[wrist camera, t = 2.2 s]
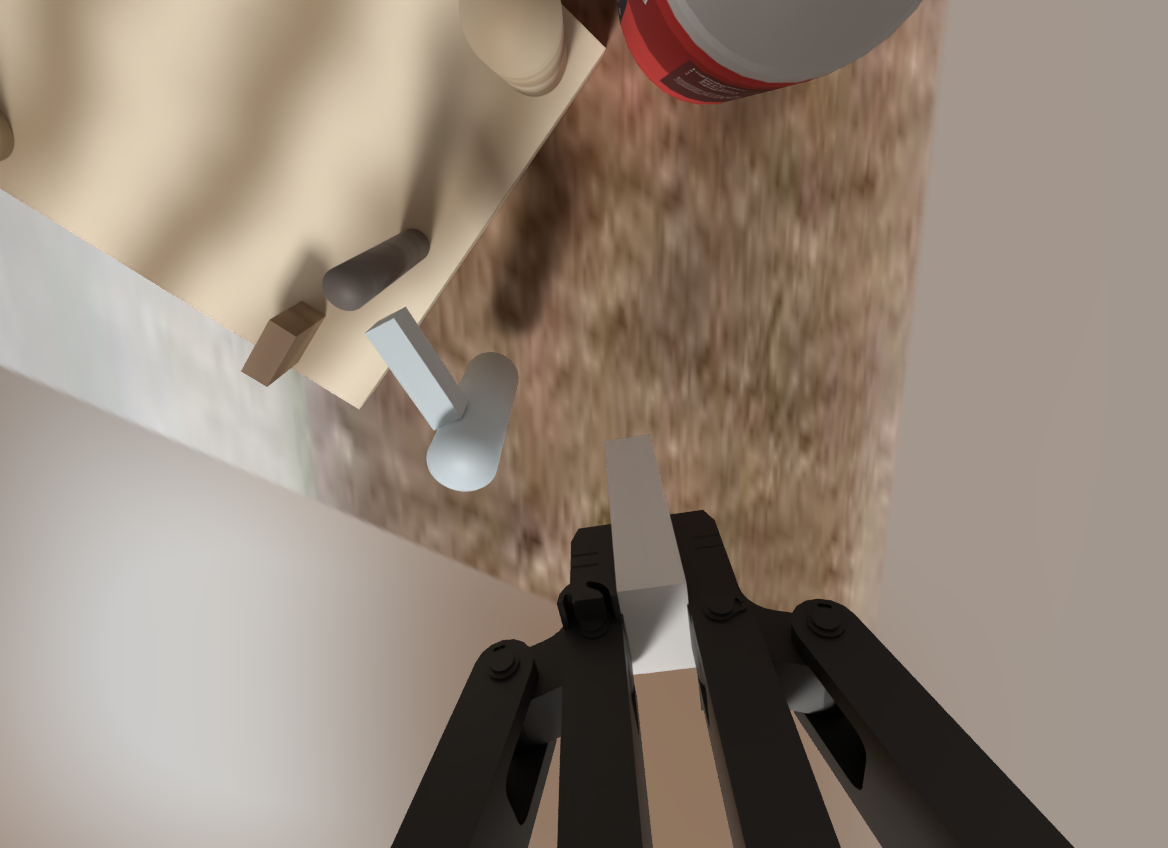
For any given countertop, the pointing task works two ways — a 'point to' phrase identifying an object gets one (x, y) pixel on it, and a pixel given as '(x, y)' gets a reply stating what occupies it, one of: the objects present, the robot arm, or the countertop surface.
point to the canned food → (751, 41)
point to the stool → (285, 150)
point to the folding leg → (451, 401)
